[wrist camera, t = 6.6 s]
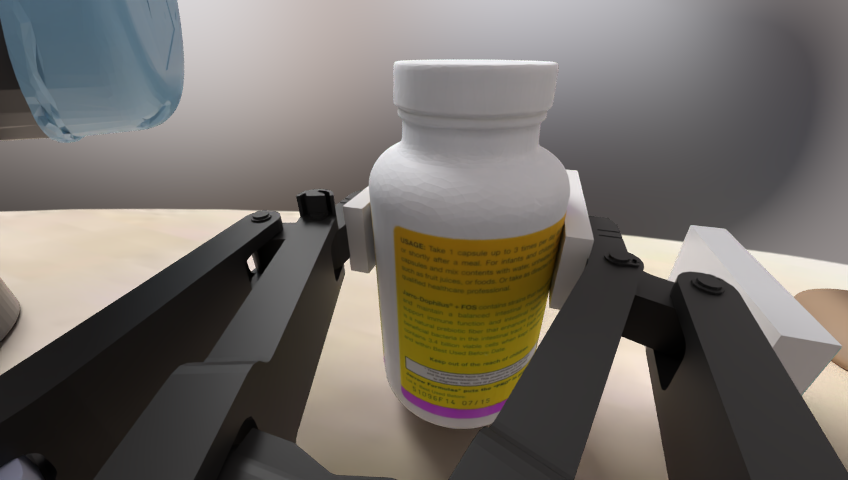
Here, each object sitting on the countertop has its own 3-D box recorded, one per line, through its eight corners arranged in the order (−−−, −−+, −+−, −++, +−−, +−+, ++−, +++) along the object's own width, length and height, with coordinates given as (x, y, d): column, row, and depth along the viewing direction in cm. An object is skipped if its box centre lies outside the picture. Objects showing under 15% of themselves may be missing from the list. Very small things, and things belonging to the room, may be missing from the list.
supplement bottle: (560, 396, 15) (664, 62, 8) (422, 468, 12) (419, 69, 6) (475, 304, 20) (498, 56, 14) (366, 341, 17) (332, 59, 11)
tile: (686, 472, 13) (781, 335, 9) (642, 339, 18) (690, 225, 15) (733, 485, 12) (851, 347, 9) (673, 345, 18) (730, 229, 15)
